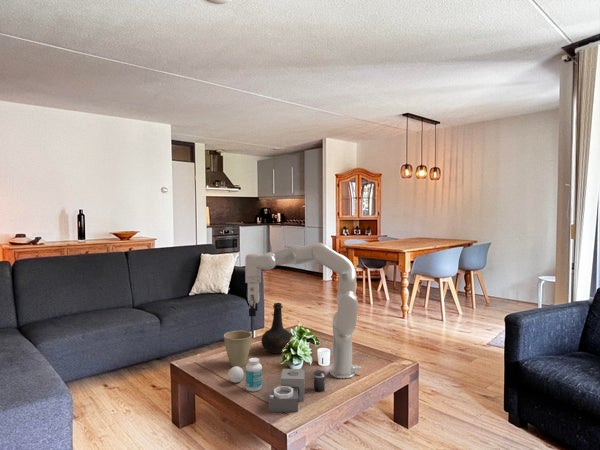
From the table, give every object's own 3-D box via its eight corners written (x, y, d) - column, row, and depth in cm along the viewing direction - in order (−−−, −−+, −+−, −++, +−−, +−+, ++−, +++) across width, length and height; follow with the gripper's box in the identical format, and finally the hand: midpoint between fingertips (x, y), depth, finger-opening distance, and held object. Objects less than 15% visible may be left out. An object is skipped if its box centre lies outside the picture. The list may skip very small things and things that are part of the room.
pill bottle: (255, 393, 173) (255, 364, 173) (242, 389, 177) (242, 360, 177) (265, 387, 180) (265, 358, 179) (252, 383, 183) (252, 355, 183)
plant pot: (250, 370, 198) (249, 339, 198) (221, 369, 199) (221, 339, 198) (254, 358, 213) (253, 330, 213) (227, 358, 214) (227, 330, 213)
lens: (324, 387, 180) (324, 370, 179) (325, 392, 175) (325, 374, 174) (313, 387, 180) (313, 370, 179) (313, 392, 174) (313, 375, 174)
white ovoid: (247, 382, 185) (246, 367, 184) (233, 386, 180) (233, 371, 180) (235, 375, 192) (235, 360, 192) (222, 379, 187) (222, 364, 187)
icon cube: (280, 401, 167) (280, 378, 166) (282, 390, 177) (282, 368, 176) (303, 401, 166) (303, 378, 166) (304, 390, 176) (304, 369, 176)
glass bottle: (256, 353, 221) (255, 305, 220) (270, 343, 237) (270, 298, 236) (284, 358, 214) (284, 308, 213) (297, 347, 230) (297, 301, 229)
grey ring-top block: (297, 401, 166) (297, 385, 166) (298, 411, 158) (298, 394, 158) (269, 402, 166) (269, 386, 165) (268, 412, 158) (268, 395, 157)
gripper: (259, 282, 182) (259, 318, 183) (262, 276, 200) (262, 308, 200) (243, 282, 182) (243, 318, 183) (247, 276, 200) (247, 309, 200)
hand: (253, 313), depth 192 cm, fingers open, 9 cm apart
